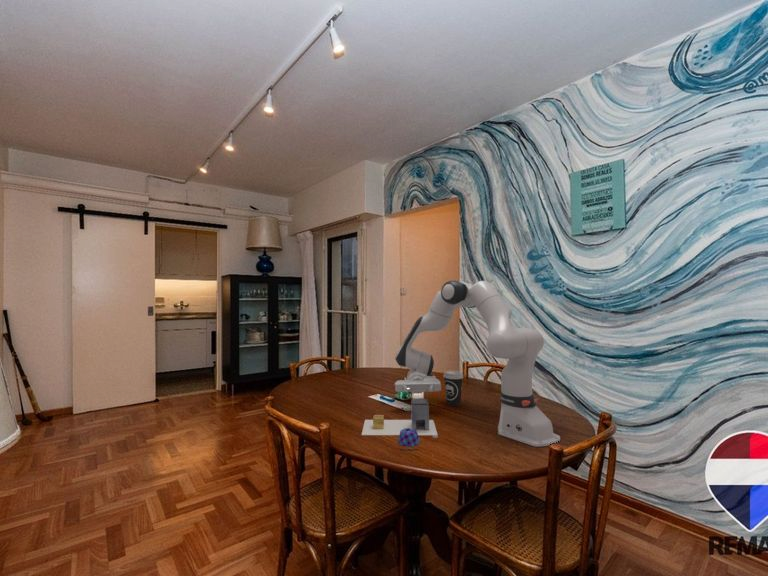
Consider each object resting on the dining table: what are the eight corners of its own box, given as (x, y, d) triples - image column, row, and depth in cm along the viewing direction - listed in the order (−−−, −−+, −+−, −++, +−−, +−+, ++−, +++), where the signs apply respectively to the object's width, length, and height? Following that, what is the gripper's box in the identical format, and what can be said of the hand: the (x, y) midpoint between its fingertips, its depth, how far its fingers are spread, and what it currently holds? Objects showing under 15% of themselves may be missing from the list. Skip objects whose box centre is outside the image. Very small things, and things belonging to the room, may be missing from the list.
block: (373, 425, 142) (373, 414, 142) (383, 425, 142) (383, 414, 142) (373, 428, 138) (373, 418, 138) (383, 428, 138) (383, 418, 138)
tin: (411, 424, 143) (411, 398, 143) (427, 424, 143) (427, 398, 143) (412, 430, 136) (411, 403, 137) (429, 430, 136) (428, 403, 136)
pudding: (398, 437, 133) (398, 422, 133) (429, 441, 129) (429, 427, 129) (386, 450, 122) (386, 434, 122) (420, 455, 118) (420, 439, 118)
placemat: (433, 422, 147) (433, 419, 147) (437, 437, 131) (437, 435, 131) (365, 422, 148) (365, 419, 148) (361, 437, 132) (361, 434, 132)
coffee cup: (465, 407, 166) (465, 374, 167) (445, 407, 167) (444, 374, 167) (461, 401, 176) (461, 370, 176) (442, 401, 176) (441, 370, 176)
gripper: (394, 376, 166) (394, 383, 152) (438, 375, 166) (442, 382, 152) (394, 389, 166) (394, 398, 152) (438, 389, 165) (443, 397, 152)
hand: (418, 390), depth 152 cm, fingers open, 8 cm apart
